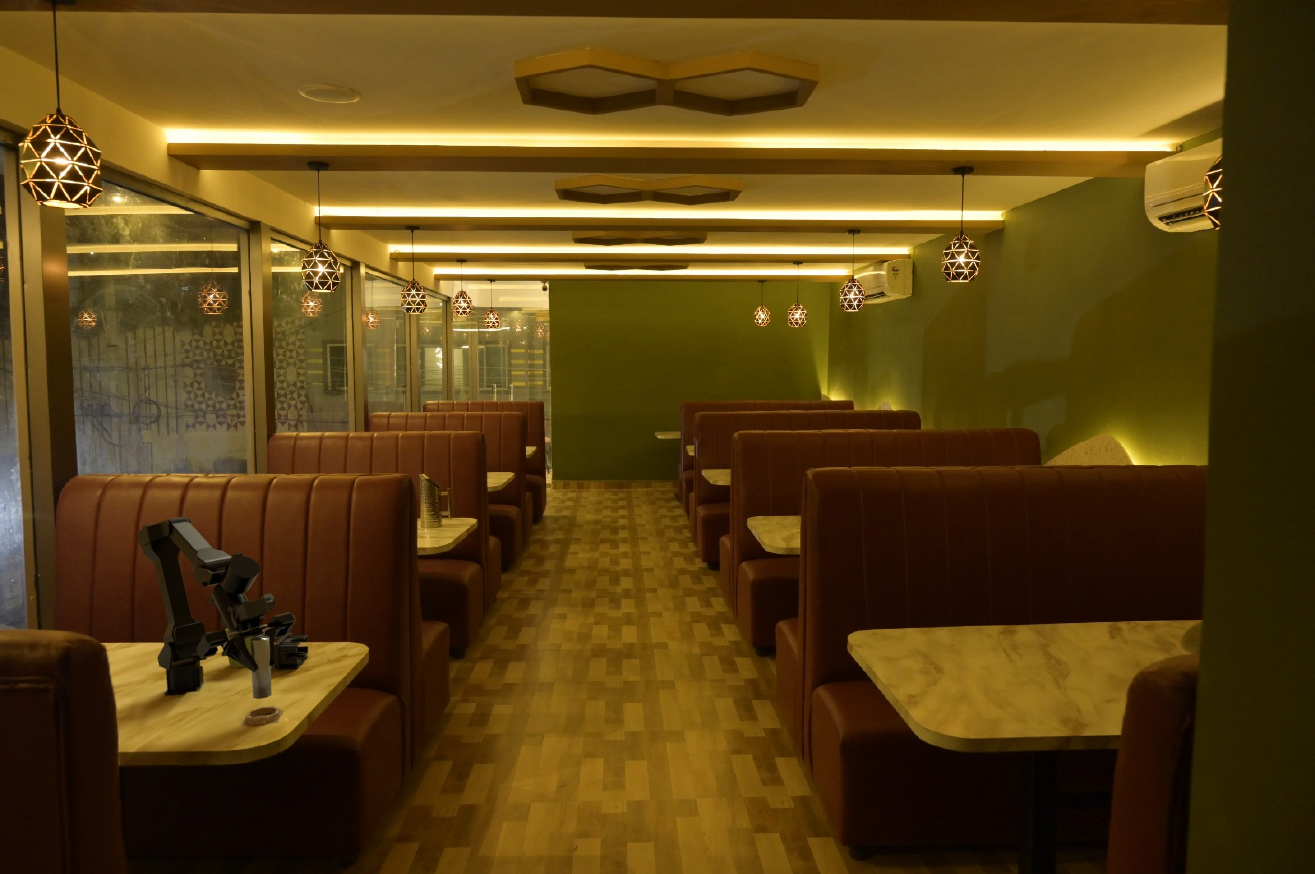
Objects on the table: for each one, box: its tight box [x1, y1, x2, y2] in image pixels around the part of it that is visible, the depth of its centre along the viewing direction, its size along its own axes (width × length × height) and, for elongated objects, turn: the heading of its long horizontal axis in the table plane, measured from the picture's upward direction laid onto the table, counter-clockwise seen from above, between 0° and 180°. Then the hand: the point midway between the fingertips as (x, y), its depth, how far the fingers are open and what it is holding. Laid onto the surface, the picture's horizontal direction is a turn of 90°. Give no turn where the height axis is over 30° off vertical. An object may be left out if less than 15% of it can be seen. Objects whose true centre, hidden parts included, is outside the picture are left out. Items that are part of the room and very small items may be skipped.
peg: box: [251, 636, 272, 700], centre depth 170 cm, size 4×4×12 cm
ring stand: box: [241, 705, 285, 727], centre depth 171 cm, size 7×6×2 cm
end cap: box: [271, 631, 309, 671], centre depth 206 cm, size 10×7×7 cm
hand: (264, 667), depth 169 cm, fingers closed on peg, 3 cm apart
